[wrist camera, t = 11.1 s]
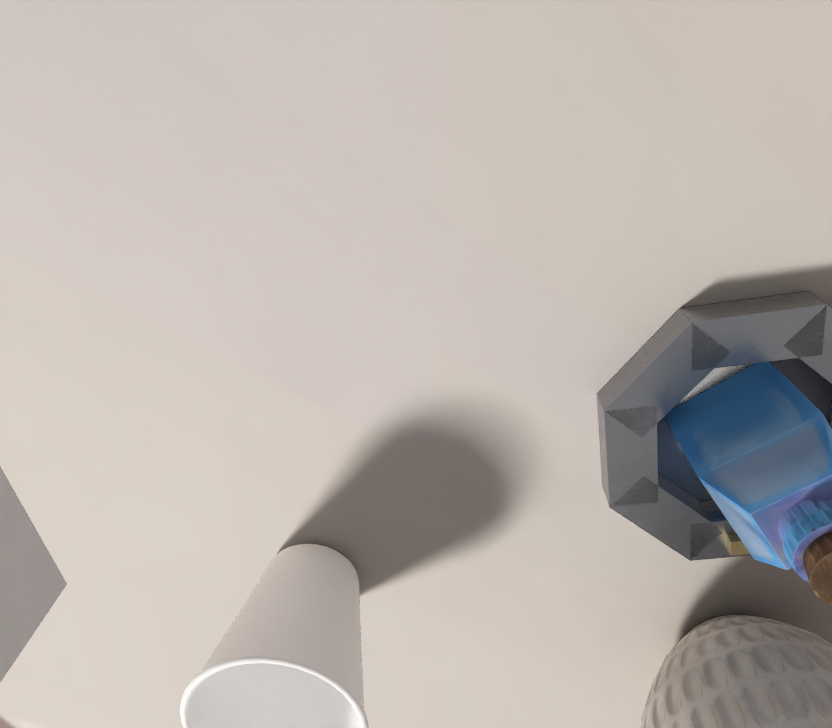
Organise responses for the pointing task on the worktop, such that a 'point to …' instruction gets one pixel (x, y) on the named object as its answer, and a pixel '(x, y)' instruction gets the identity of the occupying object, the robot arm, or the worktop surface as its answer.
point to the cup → (287, 651)
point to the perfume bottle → (765, 468)
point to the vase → (743, 677)
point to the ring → (670, 382)
